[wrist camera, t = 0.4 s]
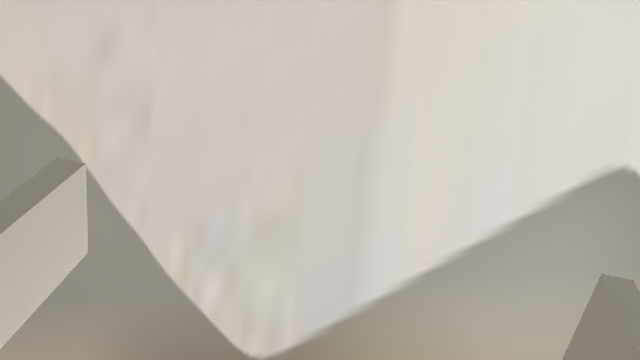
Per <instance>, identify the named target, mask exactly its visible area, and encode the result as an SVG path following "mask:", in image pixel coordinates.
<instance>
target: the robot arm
mask: <svg viewBox="0 0 640 360" xmlns="http://www.w3.org/2000/svg"><path fill="white" fill-rule="evenodd" d="M87 253H88V233H87V191H86V164H85V163H81V162H76V161H71V160H67V159H62V158H56V159H55V160H53V161H52V162H51V163H49V164H48V165H47V166H46V167H44V168H43V169H41V170H40V171H39V172H37V173H36V174H35V175H33V176H32V177H31V178H29V179H28V180H27V181H25V182H24V183H23V184H21V185H20V186H18V187H17V188H16V189H14V190H13V191H12V192H10V193H9V194H8V195H6V196H5V197H4V198H2V199H1V200H0V349H1V348H2V347H3V345H4V344H5V343H6V342H7V341H8V340H9V339H10V338H11V336H13V334H14V333H15V332H16V331H17V330H18V329H19V328H20V327H21V326H22V324H23V323H24V322H25V321H26V320H27V319H28V318H29V317H30V315H31V314H32V313H33V312H34V311H35V310H36V309H37V308H38V307H39V306H40V305H41V304H42V302H43V301H44V300H45V299H46V298H47V297H48V296H49V295H50V294H51V292H52V291H53V290H54V289H55V288H56V287H57V286H58V285H59V284H60V283H61V281H62V280H63V279H64V278H65V277H66V276H67V275H68V274H69V273H70V272H71V270H72V269H73V268H74V267H75V266H76V265H77V264H78V263H79V261H81V259H82V258H83V257H84V256H85V255H86V254H87ZM563 360H640V291H639V290H638V288H637V286H636V284H635V282H634V281H633V280H629V279H624V278H620V277H615V276H610V275H605V274H601V276H600V278H599V281H598V283H597V285H596V287H595V290H594V291H593V294H592V296H591V298H590V300H589V302H588V304H587V306H586V309H585V311H584V313H583V315H582V318H581V320H580V322H579V324H578V326H577V328H576V330H575V332H574V335H573V337H572V339H571V341H570V343H569V345H568V348H567V350H566V352H565V354H564V356H563Z"/></svg>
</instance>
